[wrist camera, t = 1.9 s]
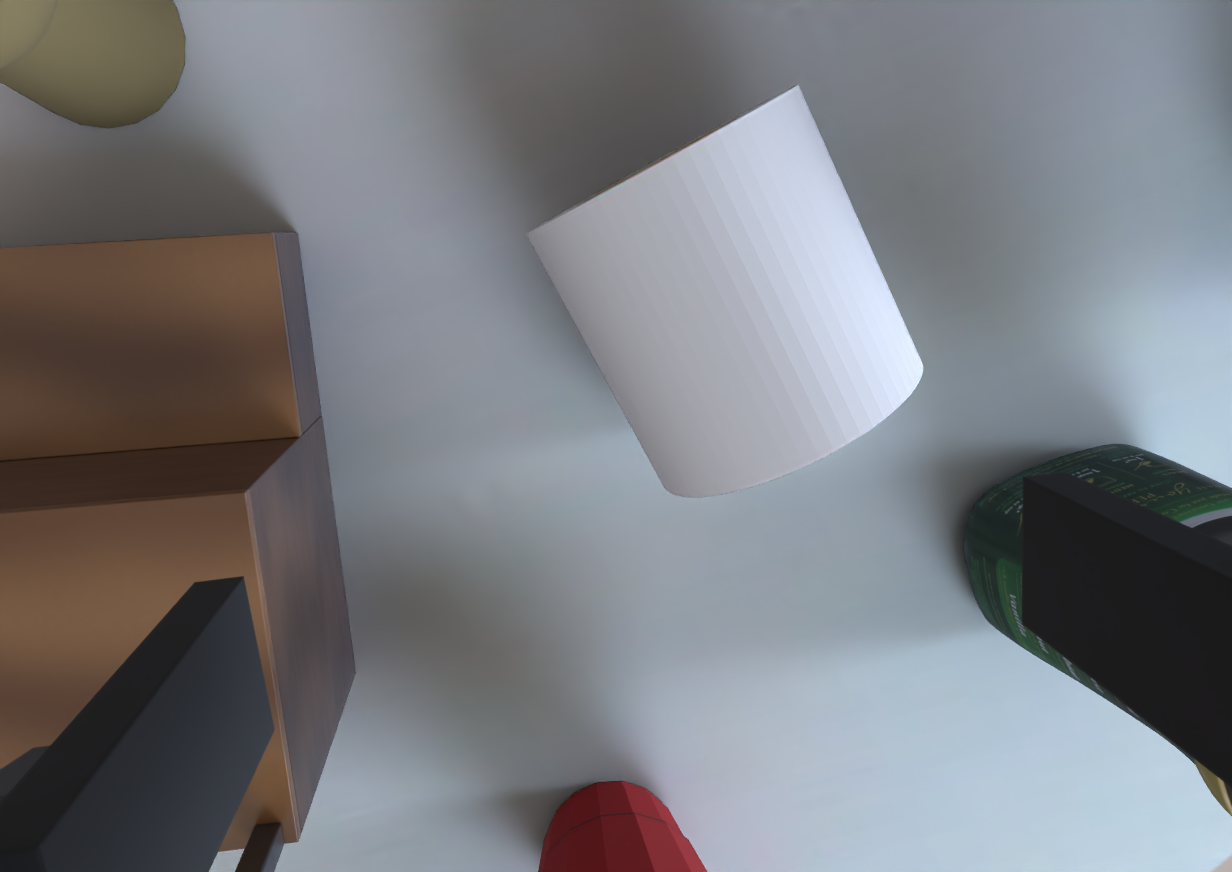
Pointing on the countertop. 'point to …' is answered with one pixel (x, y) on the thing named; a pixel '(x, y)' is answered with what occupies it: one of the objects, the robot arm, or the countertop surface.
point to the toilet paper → (734, 303)
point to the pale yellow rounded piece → (92, 56)
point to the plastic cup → (616, 834)
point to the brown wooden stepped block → (168, 489)
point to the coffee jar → (1122, 473)
